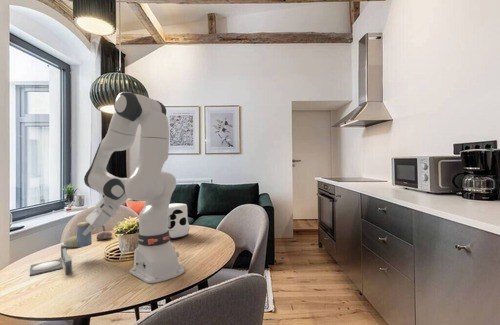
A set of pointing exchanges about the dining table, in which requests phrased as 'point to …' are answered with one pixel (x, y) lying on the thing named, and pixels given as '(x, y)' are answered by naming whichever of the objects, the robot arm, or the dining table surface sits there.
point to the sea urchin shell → (71, 242)
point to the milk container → (177, 220)
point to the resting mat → (45, 267)
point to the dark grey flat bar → (66, 260)
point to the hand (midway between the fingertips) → (82, 233)
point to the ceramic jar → (81, 238)
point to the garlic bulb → (104, 234)
